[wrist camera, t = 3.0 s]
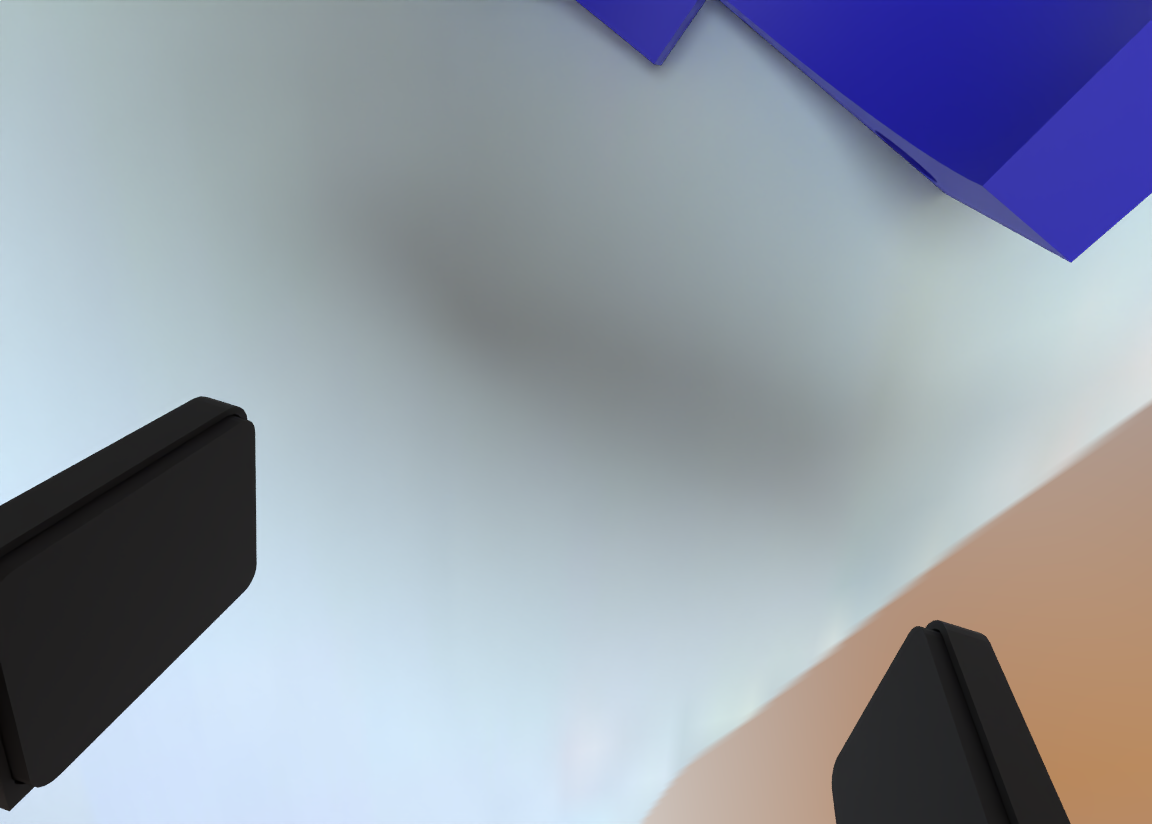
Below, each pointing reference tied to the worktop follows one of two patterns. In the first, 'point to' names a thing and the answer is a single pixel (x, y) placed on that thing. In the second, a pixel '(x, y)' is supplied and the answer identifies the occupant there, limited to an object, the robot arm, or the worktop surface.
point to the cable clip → (971, 94)
